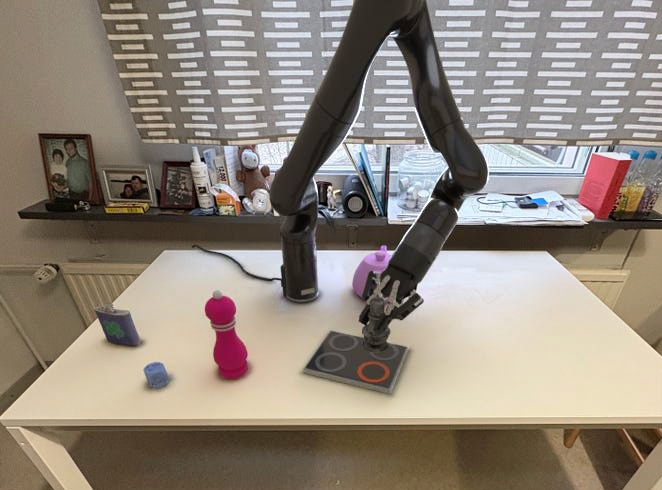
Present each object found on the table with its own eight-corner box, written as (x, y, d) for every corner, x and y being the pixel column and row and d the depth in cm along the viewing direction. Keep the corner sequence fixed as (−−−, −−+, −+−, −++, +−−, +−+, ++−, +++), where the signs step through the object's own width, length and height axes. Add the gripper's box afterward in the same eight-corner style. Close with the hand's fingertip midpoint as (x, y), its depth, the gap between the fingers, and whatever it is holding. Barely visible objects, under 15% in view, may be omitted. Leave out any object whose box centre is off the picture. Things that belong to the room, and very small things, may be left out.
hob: (303, 373, 91) (303, 367, 90) (330, 334, 103) (330, 329, 102) (390, 394, 86) (390, 388, 85) (408, 351, 98) (408, 345, 97)
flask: (143, 341, 100) (129, 303, 93) (135, 348, 97) (120, 310, 91) (112, 335, 101) (95, 298, 95) (103, 342, 99) (85, 304, 93)
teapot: (402, 313, 111) (406, 272, 103) (346, 308, 113) (346, 267, 105) (407, 276, 128) (411, 239, 120) (358, 272, 130) (358, 235, 122)
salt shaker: (387, 355, 82) (391, 303, 74) (358, 351, 83) (359, 300, 75) (391, 338, 86) (395, 288, 79) (364, 335, 87) (365, 285, 80)
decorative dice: (170, 383, 88) (165, 369, 85) (151, 390, 86) (145, 376, 83) (166, 373, 90) (161, 359, 88) (147, 380, 89) (141, 365, 86)
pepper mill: (221, 384, 88) (201, 303, 75) (214, 365, 93) (193, 287, 80) (254, 374, 90) (239, 295, 78) (245, 356, 95) (230, 279, 83)
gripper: (381, 232, 80) (335, 307, 81) (438, 255, 72) (385, 338, 73) (398, 250, 86) (355, 319, 88) (452, 273, 78) (403, 349, 79)
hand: (369, 327), depth 80 cm, fingers closed on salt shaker, 3 cm apart
